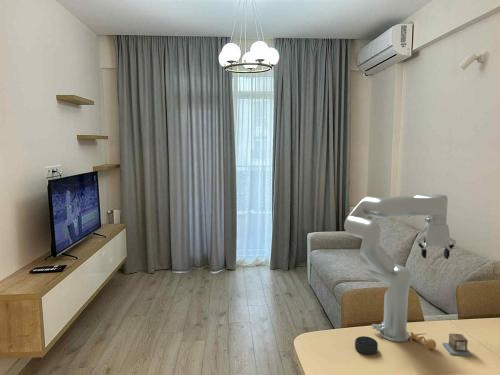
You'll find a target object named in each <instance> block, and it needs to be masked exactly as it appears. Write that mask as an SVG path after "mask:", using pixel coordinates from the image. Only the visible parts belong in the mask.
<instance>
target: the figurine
mask: <svg viewBox="0 0 500 375" xmlns="http://www.w3.org/2000/svg"><path fill="white" fill-rule="evenodd" d="M421 335H422V336H421ZM423 335H427V333H425V332H424V333H423V332H422V333H414V332H412V331H411V332H410V339H409V342H411V344H414V341H413V340H416V341H418V342H419V341H420V342H421V343H422V344H425V346H426V347H427V349H429V350H434V349H436V347H437V342H436V341H435V339H432V338H427V339H426V338H425V337H424V336H423Z"/></svg>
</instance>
